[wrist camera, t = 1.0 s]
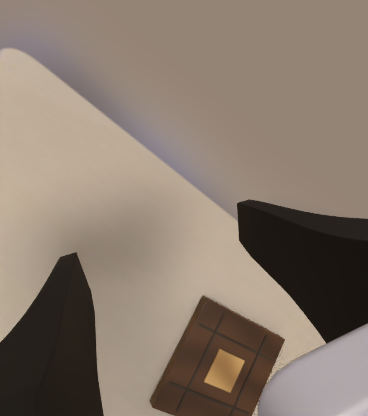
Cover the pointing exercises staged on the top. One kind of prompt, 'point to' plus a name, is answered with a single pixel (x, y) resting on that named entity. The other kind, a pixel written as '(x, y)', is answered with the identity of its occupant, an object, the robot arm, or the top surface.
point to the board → (217, 365)
